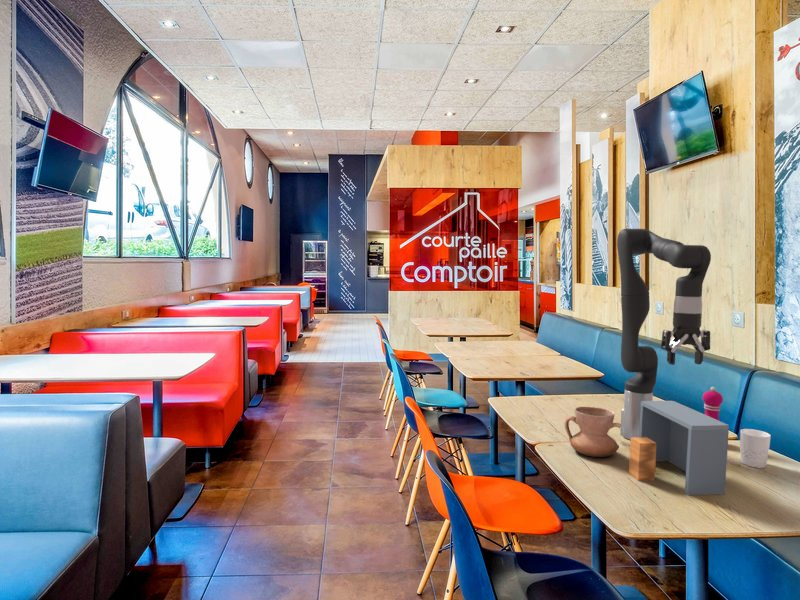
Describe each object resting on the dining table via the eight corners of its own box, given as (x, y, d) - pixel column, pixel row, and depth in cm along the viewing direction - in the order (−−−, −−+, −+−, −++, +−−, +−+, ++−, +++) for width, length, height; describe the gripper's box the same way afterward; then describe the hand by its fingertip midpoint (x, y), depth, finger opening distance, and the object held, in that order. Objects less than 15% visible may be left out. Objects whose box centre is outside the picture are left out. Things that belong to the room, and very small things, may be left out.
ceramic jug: (625, 452, 170) (626, 409, 169) (615, 465, 158) (616, 420, 157) (571, 441, 180) (571, 401, 180) (557, 453, 169) (558, 410, 168)
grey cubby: (687, 495, 139) (691, 425, 137) (638, 460, 163) (640, 401, 162) (724, 493, 140) (729, 425, 138) (669, 459, 164) (673, 400, 163)
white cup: (765, 461, 163) (767, 431, 163) (771, 470, 156) (773, 438, 155) (736, 457, 167) (738, 427, 166) (740, 466, 159) (742, 434, 159)
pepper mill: (725, 447, 176) (729, 389, 174) (702, 445, 177) (706, 388, 176) (717, 440, 183) (720, 385, 181) (695, 438, 184) (698, 383, 183)
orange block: (638, 480, 148) (639, 443, 147) (628, 473, 153) (630, 437, 152) (654, 480, 148) (656, 443, 147) (644, 473, 153) (646, 437, 152)
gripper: (701, 310, 159) (698, 361, 160) (657, 310, 158) (655, 361, 159) (718, 312, 152) (715, 366, 153) (672, 312, 150) (670, 366, 152)
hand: (684, 364), depth 156 cm, fingers open, 8 cm apart
